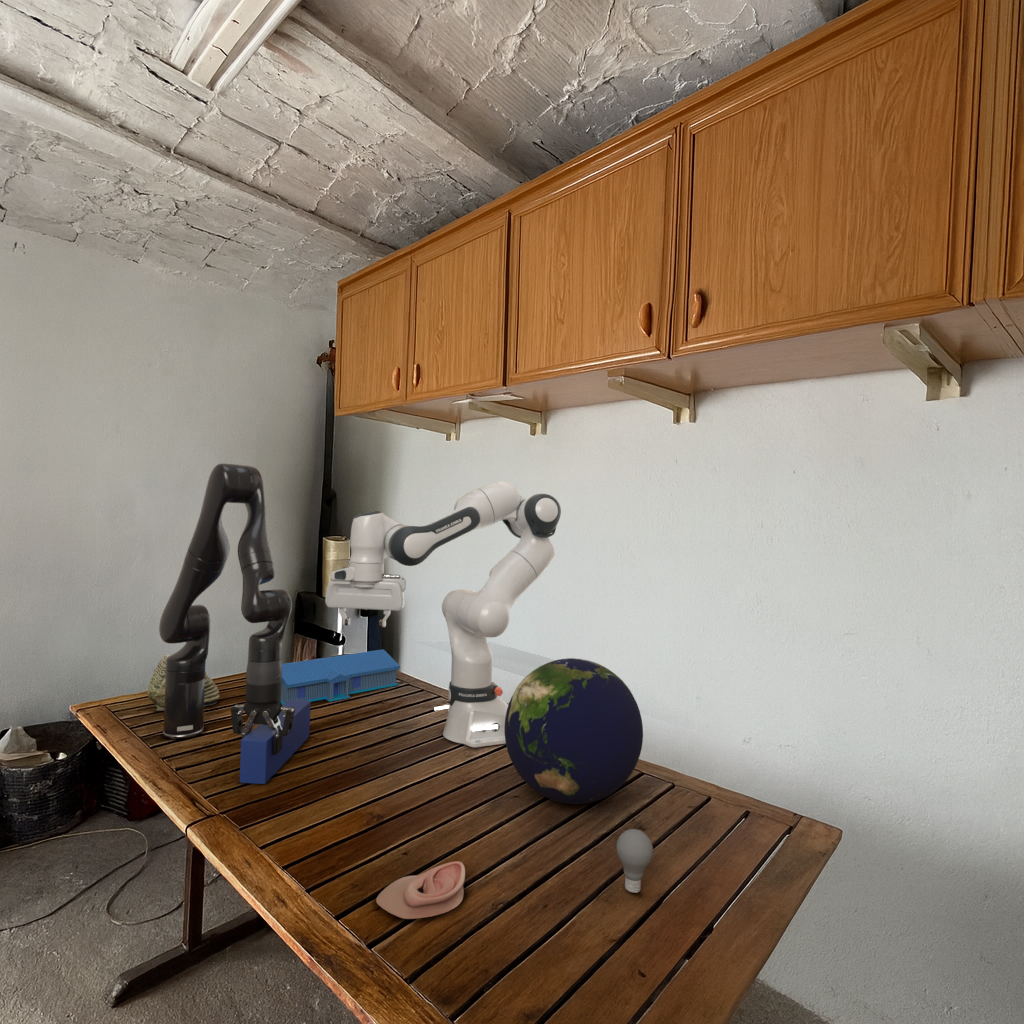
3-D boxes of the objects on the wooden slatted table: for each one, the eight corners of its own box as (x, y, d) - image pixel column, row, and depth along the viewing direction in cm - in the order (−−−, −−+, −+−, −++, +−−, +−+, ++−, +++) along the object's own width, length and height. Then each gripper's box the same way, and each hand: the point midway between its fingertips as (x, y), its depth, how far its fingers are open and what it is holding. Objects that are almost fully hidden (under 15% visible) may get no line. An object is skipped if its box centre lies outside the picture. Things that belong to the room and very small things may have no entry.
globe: (478, 811, 130) (485, 666, 129) (529, 759, 158) (535, 639, 157) (623, 847, 119) (630, 688, 118) (650, 784, 146) (656, 655, 146)
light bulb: (610, 879, 108) (613, 822, 108) (644, 879, 109) (647, 822, 109) (619, 902, 102) (622, 840, 102) (655, 901, 103) (658, 840, 103)
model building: (289, 709, 186) (291, 675, 185) (258, 688, 204) (259, 657, 204) (403, 687, 212) (405, 657, 212) (366, 670, 230) (368, 643, 230)
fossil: (144, 707, 182) (145, 655, 182) (212, 696, 194) (213, 647, 194) (151, 716, 175) (153, 662, 175) (221, 703, 188) (223, 653, 188)
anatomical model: (368, 886, 97) (397, 847, 108) (367, 912, 97) (396, 870, 108) (451, 901, 94) (471, 859, 106) (450, 928, 94) (470, 883, 106)
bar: (265, 784, 138) (266, 741, 138) (239, 782, 139) (241, 739, 138) (309, 736, 166) (310, 700, 166) (288, 735, 166) (289, 699, 166)
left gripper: (301, 675, 146) (299, 748, 146) (240, 672, 146) (237, 744, 147) (289, 685, 138) (286, 761, 139) (224, 681, 139) (222, 757, 139)
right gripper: (408, 573, 168) (406, 625, 168) (332, 570, 169) (330, 621, 169) (403, 576, 162) (401, 630, 162) (324, 572, 162) (322, 626, 162)
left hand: (261, 752), depth 143 cm, fingers open, 6 cm apart
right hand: (364, 625), depth 165 cm, fingers open, 8 cm apart
